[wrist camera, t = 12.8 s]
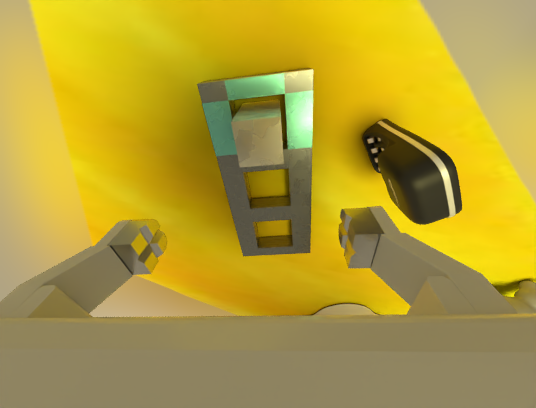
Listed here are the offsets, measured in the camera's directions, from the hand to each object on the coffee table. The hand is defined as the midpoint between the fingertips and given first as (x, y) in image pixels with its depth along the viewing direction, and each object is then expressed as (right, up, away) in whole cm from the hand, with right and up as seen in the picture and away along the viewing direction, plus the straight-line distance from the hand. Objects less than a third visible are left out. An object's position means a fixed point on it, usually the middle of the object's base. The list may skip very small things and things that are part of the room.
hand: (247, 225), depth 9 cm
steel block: (0, +11, +15) cm, 18 cm away
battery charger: (+14, +8, +17) cm, 23 cm away
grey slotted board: (+1, +4, +19) cm, 20 cm away
